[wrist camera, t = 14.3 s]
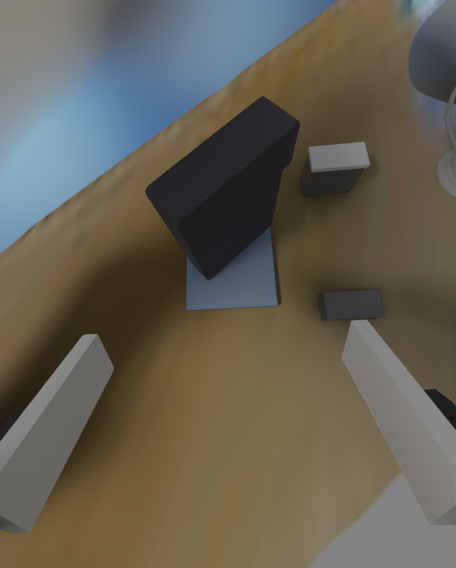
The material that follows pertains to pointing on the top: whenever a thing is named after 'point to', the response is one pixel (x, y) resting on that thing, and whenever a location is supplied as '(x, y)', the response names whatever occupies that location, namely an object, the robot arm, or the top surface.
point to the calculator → (227, 186)
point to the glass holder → (448, 155)
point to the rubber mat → (236, 280)
